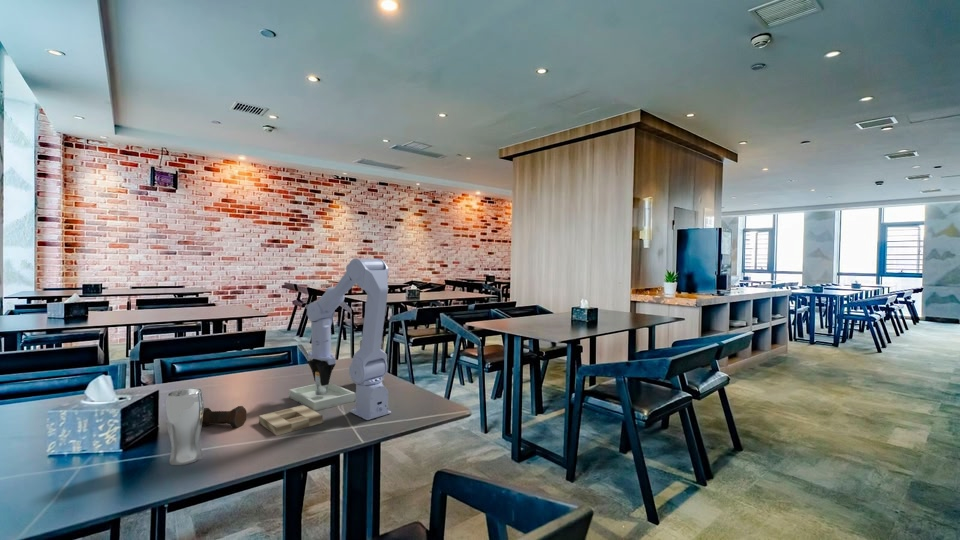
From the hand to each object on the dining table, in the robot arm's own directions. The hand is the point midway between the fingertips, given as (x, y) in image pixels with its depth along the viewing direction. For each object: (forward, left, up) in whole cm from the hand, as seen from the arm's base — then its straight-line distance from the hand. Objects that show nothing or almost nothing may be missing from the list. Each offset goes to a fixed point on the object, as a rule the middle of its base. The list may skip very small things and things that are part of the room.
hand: (321, 383), depth 138 cm
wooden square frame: (-13, +15, -5) cm, 20 cm away
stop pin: (0, 0, -3) cm, 3 cm away
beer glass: (-18, +40, -5) cm, 44 cm away
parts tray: (0, 0, -5) cm, 5 cm away
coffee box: (+3, -20, -5) cm, 21 cm away
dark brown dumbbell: (0, +30, -5) cm, 30 cm away
